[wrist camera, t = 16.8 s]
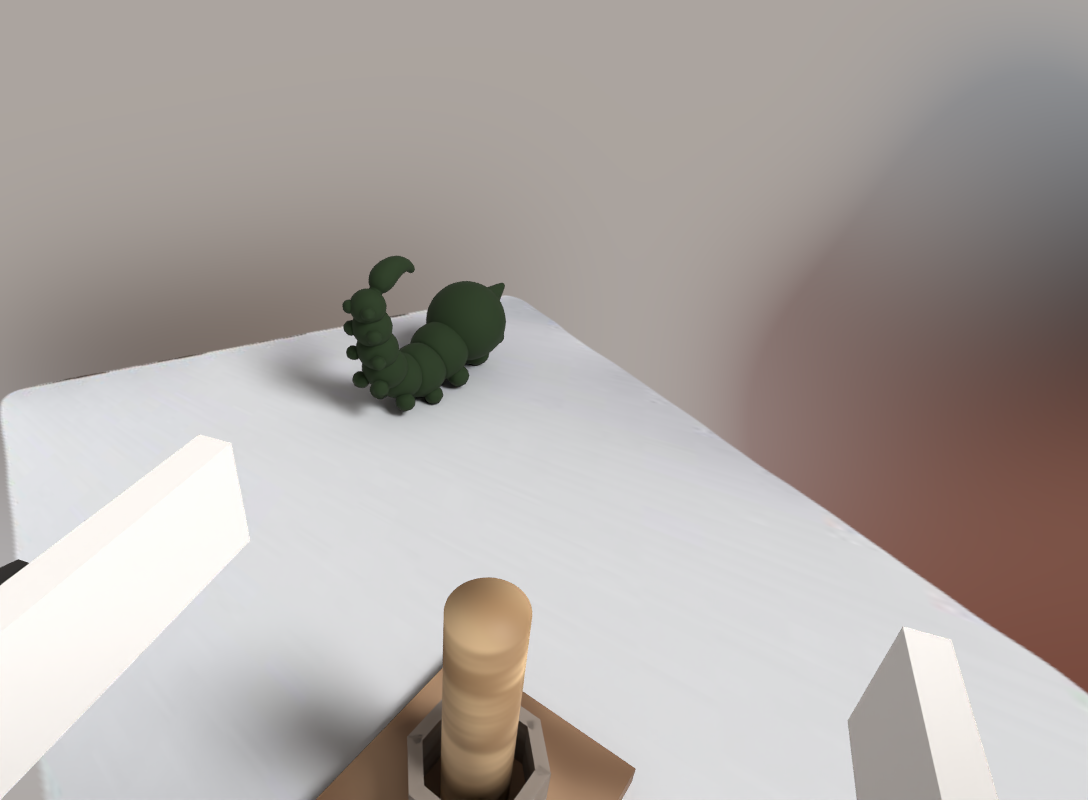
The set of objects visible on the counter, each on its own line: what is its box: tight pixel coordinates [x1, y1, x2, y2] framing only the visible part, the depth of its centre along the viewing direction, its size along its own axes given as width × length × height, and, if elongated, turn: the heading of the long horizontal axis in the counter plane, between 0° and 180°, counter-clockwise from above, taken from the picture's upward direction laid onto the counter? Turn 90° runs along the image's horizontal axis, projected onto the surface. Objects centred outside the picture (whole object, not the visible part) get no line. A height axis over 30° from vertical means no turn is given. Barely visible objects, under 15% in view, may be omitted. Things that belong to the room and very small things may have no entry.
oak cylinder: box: [440, 578, 532, 800], centre depth 34 cm, size 4×4×16 cm
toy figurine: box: [343, 256, 506, 411], centre depth 75 cm, size 9×19×25 cm
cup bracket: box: [316, 668, 635, 800], centre depth 38 cm, size 14×14×6 cm
